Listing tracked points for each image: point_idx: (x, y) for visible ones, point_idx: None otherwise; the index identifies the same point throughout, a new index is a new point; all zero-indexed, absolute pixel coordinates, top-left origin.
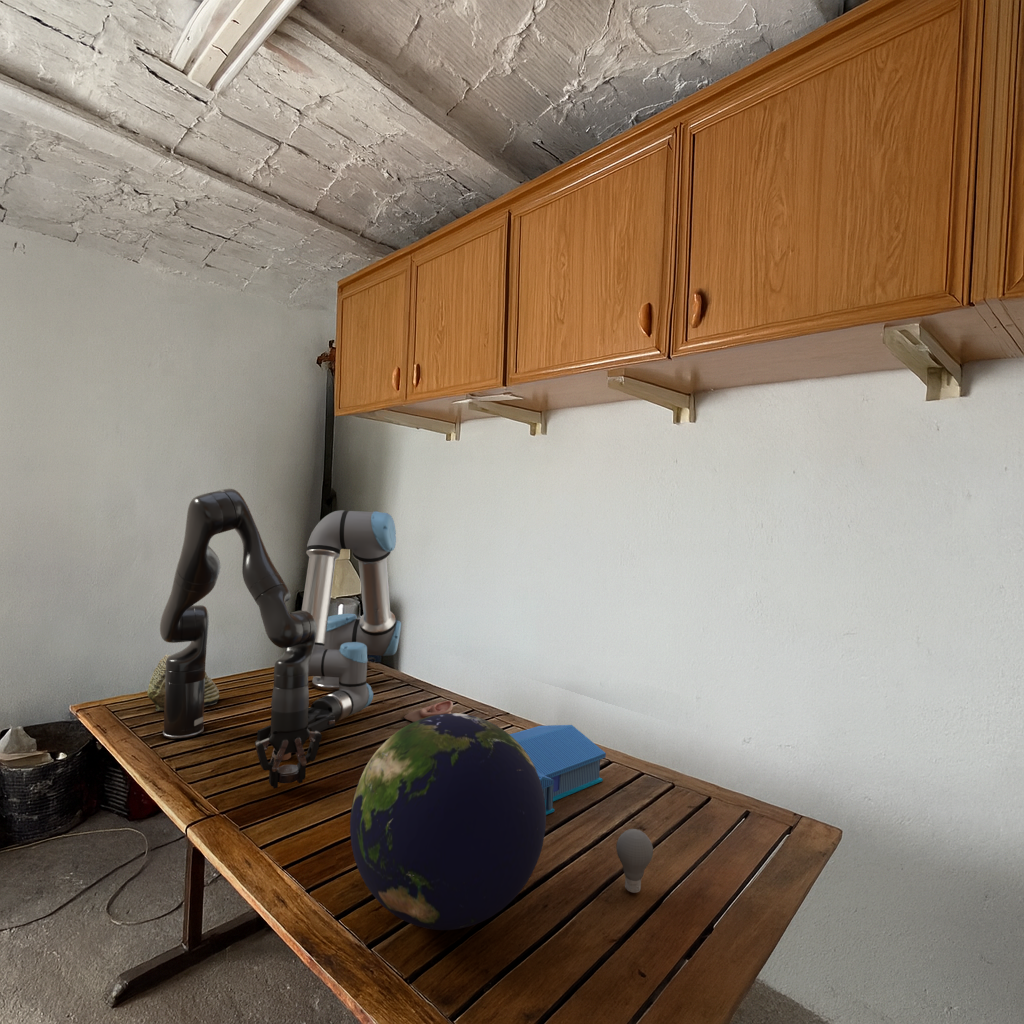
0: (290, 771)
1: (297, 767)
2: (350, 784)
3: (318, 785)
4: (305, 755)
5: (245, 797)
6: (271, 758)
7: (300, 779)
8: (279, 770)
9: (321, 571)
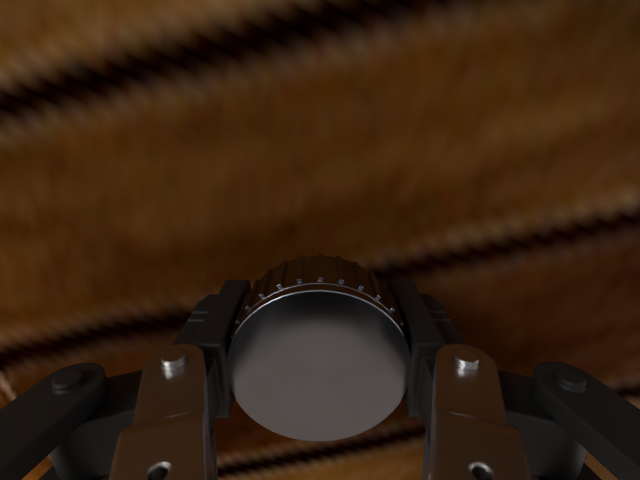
0: (324, 418)
1: (397, 380)
2: (628, 369)
3: (489, 307)
4: (516, 425)
5: (93, 262)
6: (135, 421)
7: None
8: (249, 372)
9: None
